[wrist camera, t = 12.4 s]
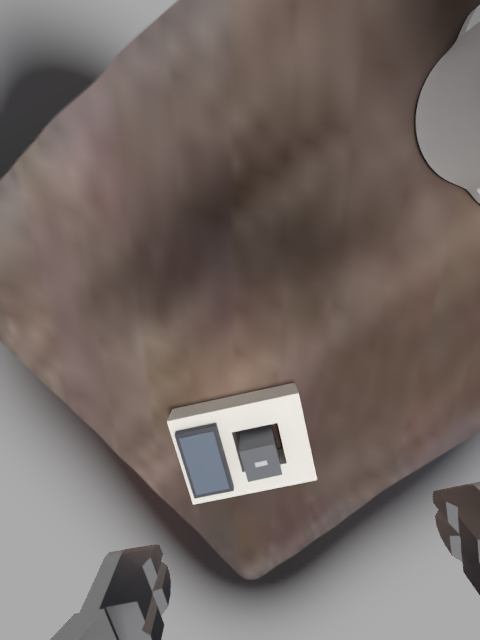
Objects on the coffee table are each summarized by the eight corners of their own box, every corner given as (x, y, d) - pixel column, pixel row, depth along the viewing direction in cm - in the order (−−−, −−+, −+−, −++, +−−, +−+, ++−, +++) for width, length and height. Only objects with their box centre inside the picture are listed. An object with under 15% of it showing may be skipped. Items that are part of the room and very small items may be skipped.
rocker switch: (269, 416, 40) (274, 444, 34) (276, 442, 41) (282, 475, 35) (239, 422, 41) (239, 452, 35) (247, 449, 41) (248, 482, 35)
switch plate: (294, 382, 39) (300, 396, 35) (311, 464, 42) (318, 485, 38) (172, 408, 40) (164, 425, 36) (196, 487, 43) (192, 510, 39)
